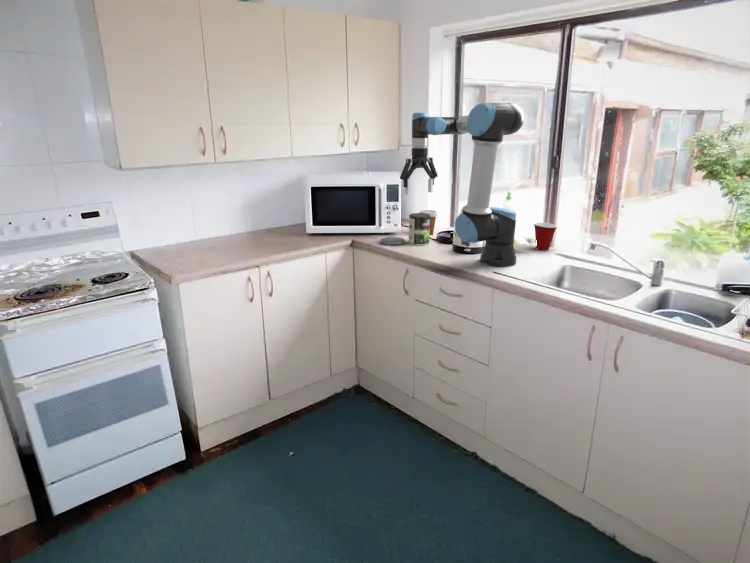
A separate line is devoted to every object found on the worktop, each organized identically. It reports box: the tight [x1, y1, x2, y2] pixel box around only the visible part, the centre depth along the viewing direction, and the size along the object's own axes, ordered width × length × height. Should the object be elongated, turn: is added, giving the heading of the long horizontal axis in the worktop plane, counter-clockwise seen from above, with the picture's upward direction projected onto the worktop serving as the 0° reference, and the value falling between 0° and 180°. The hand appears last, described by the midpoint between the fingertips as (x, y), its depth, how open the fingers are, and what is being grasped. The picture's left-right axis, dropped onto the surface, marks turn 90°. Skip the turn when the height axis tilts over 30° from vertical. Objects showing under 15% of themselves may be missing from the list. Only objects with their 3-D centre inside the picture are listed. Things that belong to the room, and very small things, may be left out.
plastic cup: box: [533, 222, 558, 251], centre depth 236 cm, size 11×11×12 cm
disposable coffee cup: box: [419, 209, 438, 236], centre depth 264 cm, size 10×10×12 cm
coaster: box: [380, 236, 406, 247], centre depth 248 cm, size 12×12×2 cm
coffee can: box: [408, 212, 430, 247], centre depth 245 cm, size 10×10×14 cm
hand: (418, 193), depth 240 cm, fingers open, 13 cm apart
